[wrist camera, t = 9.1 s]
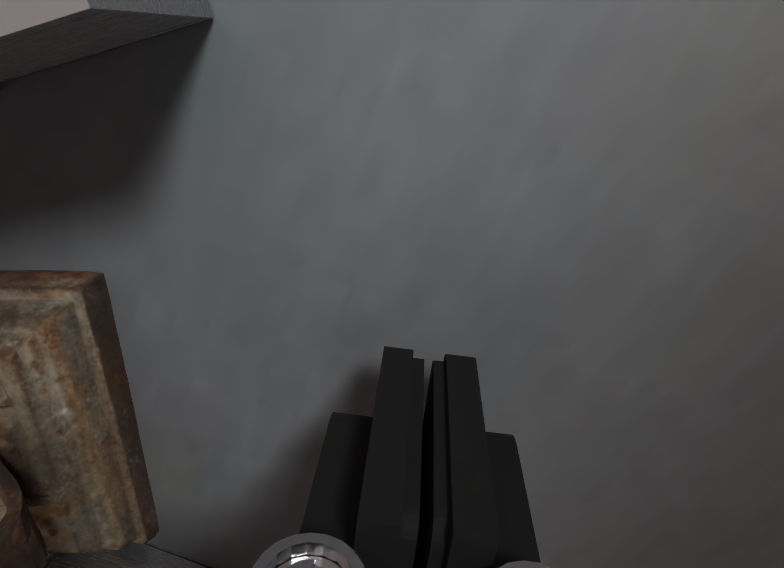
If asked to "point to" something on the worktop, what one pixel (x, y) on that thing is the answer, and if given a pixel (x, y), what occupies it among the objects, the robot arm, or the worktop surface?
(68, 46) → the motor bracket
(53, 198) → the worktop surface
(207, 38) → the worktop surface
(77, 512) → the clothes iron
